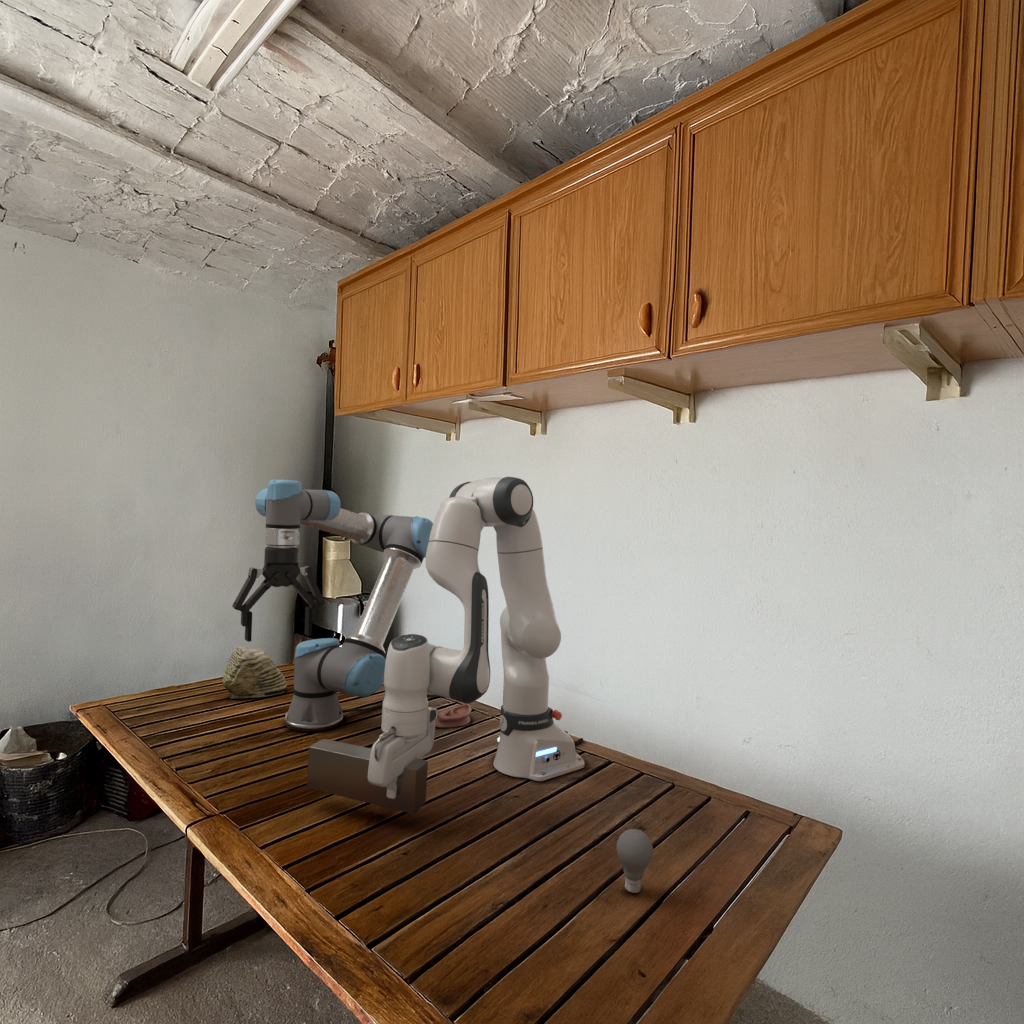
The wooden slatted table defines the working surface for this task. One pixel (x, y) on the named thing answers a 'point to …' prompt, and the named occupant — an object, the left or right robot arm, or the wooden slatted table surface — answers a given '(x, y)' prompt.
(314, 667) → the left robot arm
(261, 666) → the fossil
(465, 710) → the anatomical model
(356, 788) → the bar
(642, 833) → the light bulb
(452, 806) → the wooden slatted table surface
